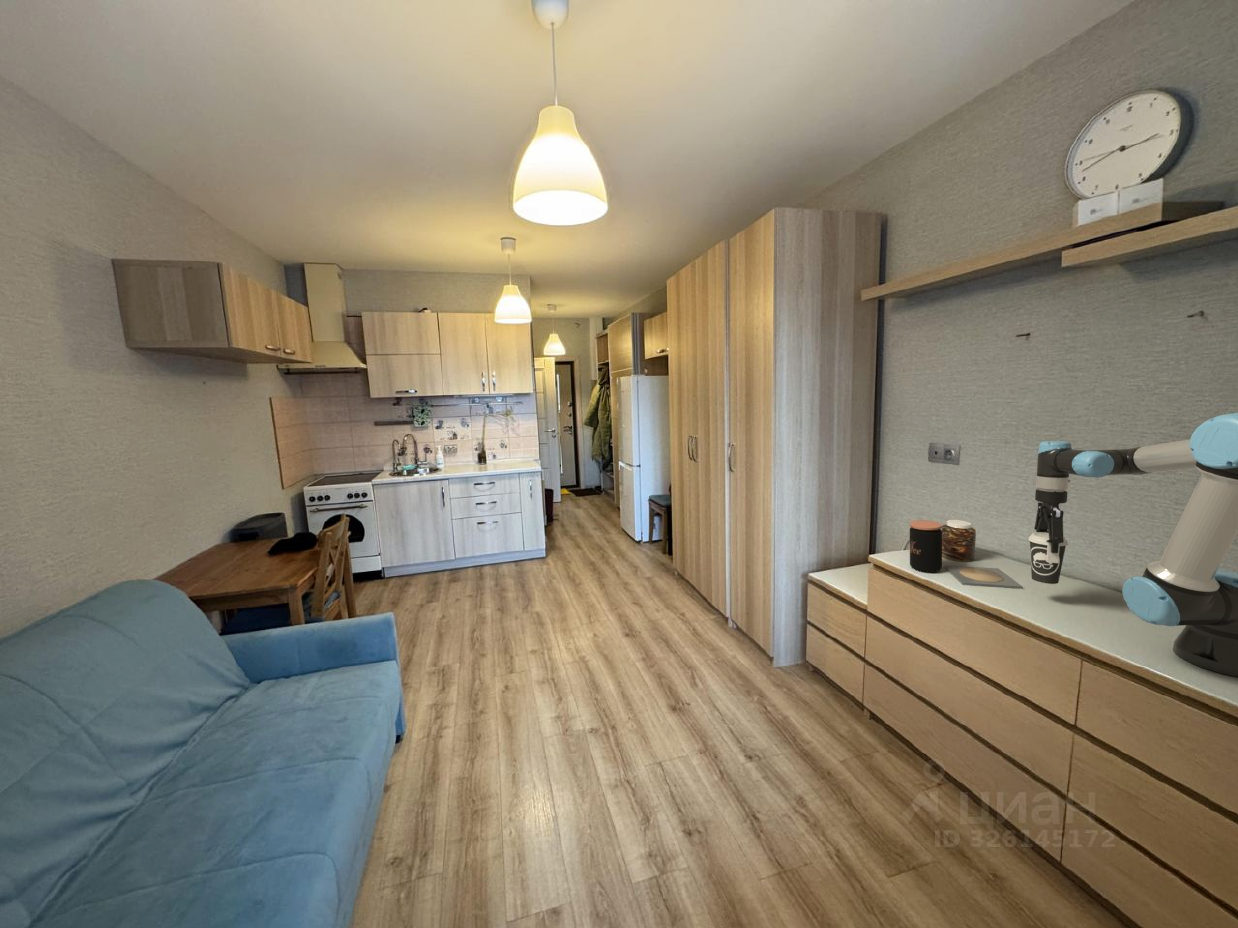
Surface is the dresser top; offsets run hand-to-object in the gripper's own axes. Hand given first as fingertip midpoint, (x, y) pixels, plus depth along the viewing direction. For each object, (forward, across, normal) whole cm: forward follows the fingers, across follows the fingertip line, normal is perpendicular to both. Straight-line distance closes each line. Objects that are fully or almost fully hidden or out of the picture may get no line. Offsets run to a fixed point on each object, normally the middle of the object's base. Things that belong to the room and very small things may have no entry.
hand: (1046, 557), depth 152 cm
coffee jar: (+14, +19, +30) cm, 39 cm away
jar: (+14, +39, +17) cm, 45 cm away
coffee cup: (+8, 0, 0) cm, 8 cm away
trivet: (+14, +17, +13) cm, 26 cm away
